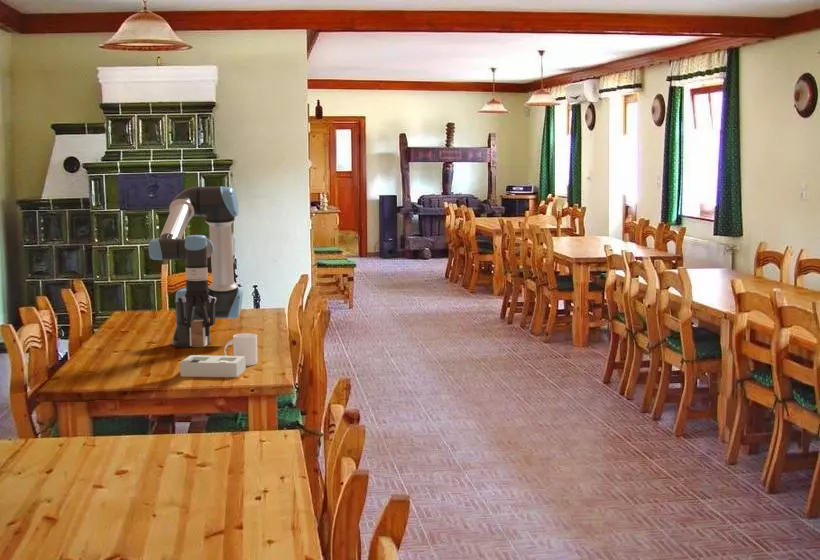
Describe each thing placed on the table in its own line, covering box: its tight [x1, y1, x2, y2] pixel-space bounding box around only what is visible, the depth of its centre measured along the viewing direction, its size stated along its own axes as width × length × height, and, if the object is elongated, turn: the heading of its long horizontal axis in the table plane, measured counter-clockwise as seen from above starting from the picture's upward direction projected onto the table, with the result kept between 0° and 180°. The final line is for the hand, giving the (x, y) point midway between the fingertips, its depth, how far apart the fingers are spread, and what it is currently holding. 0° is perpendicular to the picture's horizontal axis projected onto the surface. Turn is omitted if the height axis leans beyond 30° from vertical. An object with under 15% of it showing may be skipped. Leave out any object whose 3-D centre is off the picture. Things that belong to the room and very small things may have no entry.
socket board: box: [179, 354, 247, 378], centre depth 337 cm, size 12×20×5 cm, turn 85°
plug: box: [191, 320, 205, 348], centre depth 336 cm, size 4×4×9 cm
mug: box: [223, 332, 258, 367], centre depth 351 cm, size 9×12×11 cm
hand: (198, 345), depth 336 cm, fingers closed on plug, 4 cm apart
